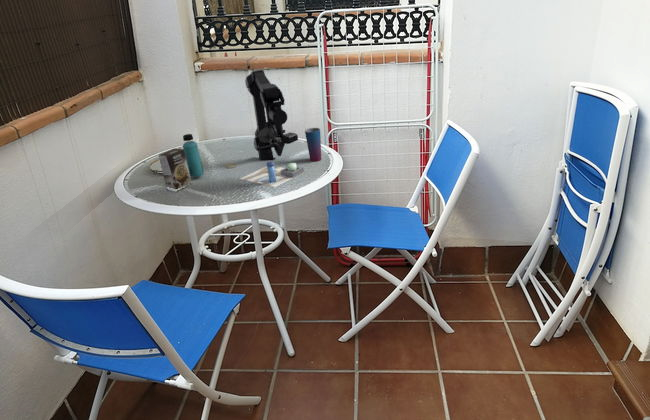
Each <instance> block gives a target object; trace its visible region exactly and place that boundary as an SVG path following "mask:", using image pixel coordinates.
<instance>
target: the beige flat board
mask: <svg viewBox="0 0 650 420" xmlns="http://www.w3.org/2000/svg"><path fill="white" fill-rule="evenodd" d="M285 168H286V167H281V166H276V165H274V169H275V176H276V182H274V183H270V181H269V175H268V169H267V165H266V166H264V167H261V168H260V169H257V170H256V171H253V172H252V173H250V174H247V175H245V176H243V177H241V178H240V180H241V181H248V182H252V183H255V184H259V185H265V186H269V187H271V188H272V187H274V188H277V187H278V186H281V185H282V184H284V183H286V182H288V181H290V180H292V179H294V178H295V177H297V176H299V175H297V176H295V177H294V178H293V177H288V176H283V175H281V170H283V169H285Z"/></svg>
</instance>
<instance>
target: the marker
mask: <svg viewBox="0 0 650 420" xmlns="http://www.w3.org/2000/svg"><path fill="white" fill-rule="evenodd" d="M266 166H267V169H268V175H269V181H270V183H274V182H276V176H275V169H274V166H275V162H274V161H266Z"/></svg>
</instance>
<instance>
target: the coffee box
mask: <svg viewBox="0 0 650 420" xmlns="http://www.w3.org/2000/svg"><path fill="white" fill-rule="evenodd" d="M158 159H160V164H161V168H162V172H163V174H162V175H163V179H164V183H165V187H169V188H173V189H178V188H181V187H183V186H185V185H188V184H190V183H192V184H193V182H192V179H191V178H192V177H191V176H190V173H189V169H188V165H187V160H186V156H185V152H184V149H183V148H172V149H169V150H167V151H165V152H162V153H160V154H158ZM188 186H189V185H188Z"/></svg>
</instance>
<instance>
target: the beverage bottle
mask: <svg viewBox="0 0 650 420" xmlns="http://www.w3.org/2000/svg"><path fill="white" fill-rule="evenodd" d="M182 138H183V141H184V143H183V145H182V149H184V152H185V156H186V160H187V165H188V169H189V173H190V178H197V177H201V176H203V175H204V172H205V171H204V167H203V162H202V158H201V155H200V152H199V148H198V143H197V142H195V141H193V140H194V136H193V134H192V133H186V134H184V135H183V136H182Z"/></svg>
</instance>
